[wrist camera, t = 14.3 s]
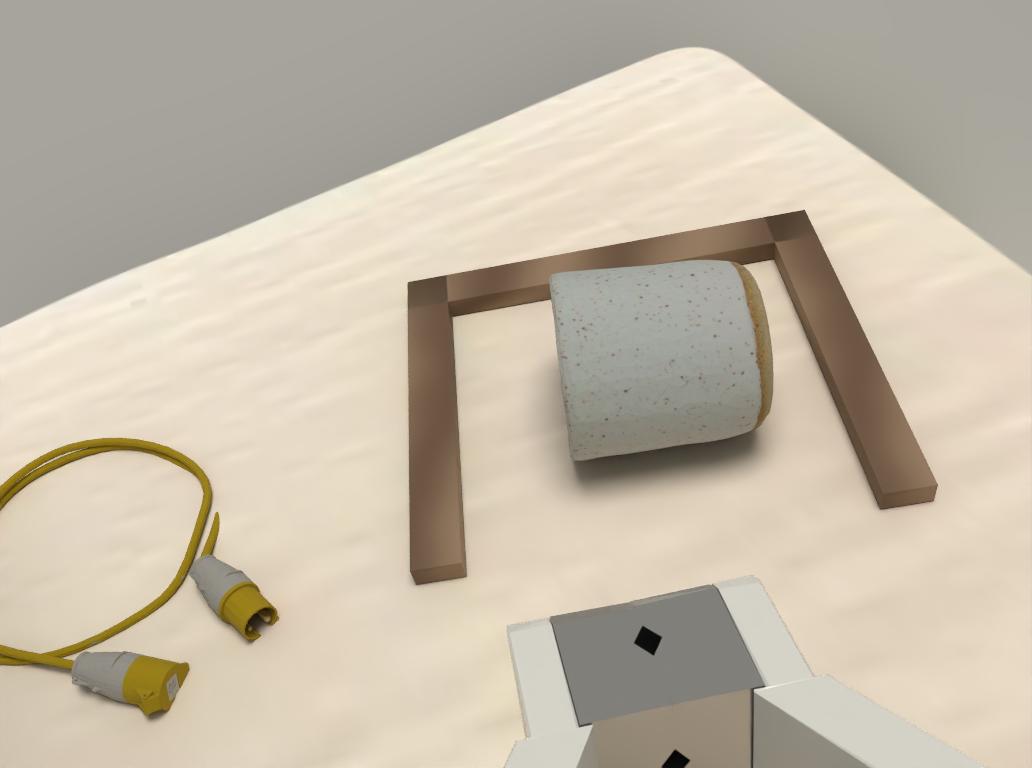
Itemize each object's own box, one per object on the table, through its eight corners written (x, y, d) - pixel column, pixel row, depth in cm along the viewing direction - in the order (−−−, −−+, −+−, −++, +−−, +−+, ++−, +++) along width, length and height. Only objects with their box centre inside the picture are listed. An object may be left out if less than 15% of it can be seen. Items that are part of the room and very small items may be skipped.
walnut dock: (416, 584, 37) (410, 570, 37) (412, 296, 49) (407, 282, 48) (933, 500, 36) (938, 485, 35) (803, 225, 48) (804, 209, 47)
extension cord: (-18, 822, 34) (-51, 803, 33) (-49, 517, 45) (-75, 491, 43) (297, 653, 37) (279, 628, 35) (198, 401, 47) (182, 374, 46)
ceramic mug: (779, 467, 38) (786, 328, 33) (577, 500, 39) (551, 368, 33) (720, 296, 46) (718, 160, 40) (551, 325, 46) (527, 194, 41)
